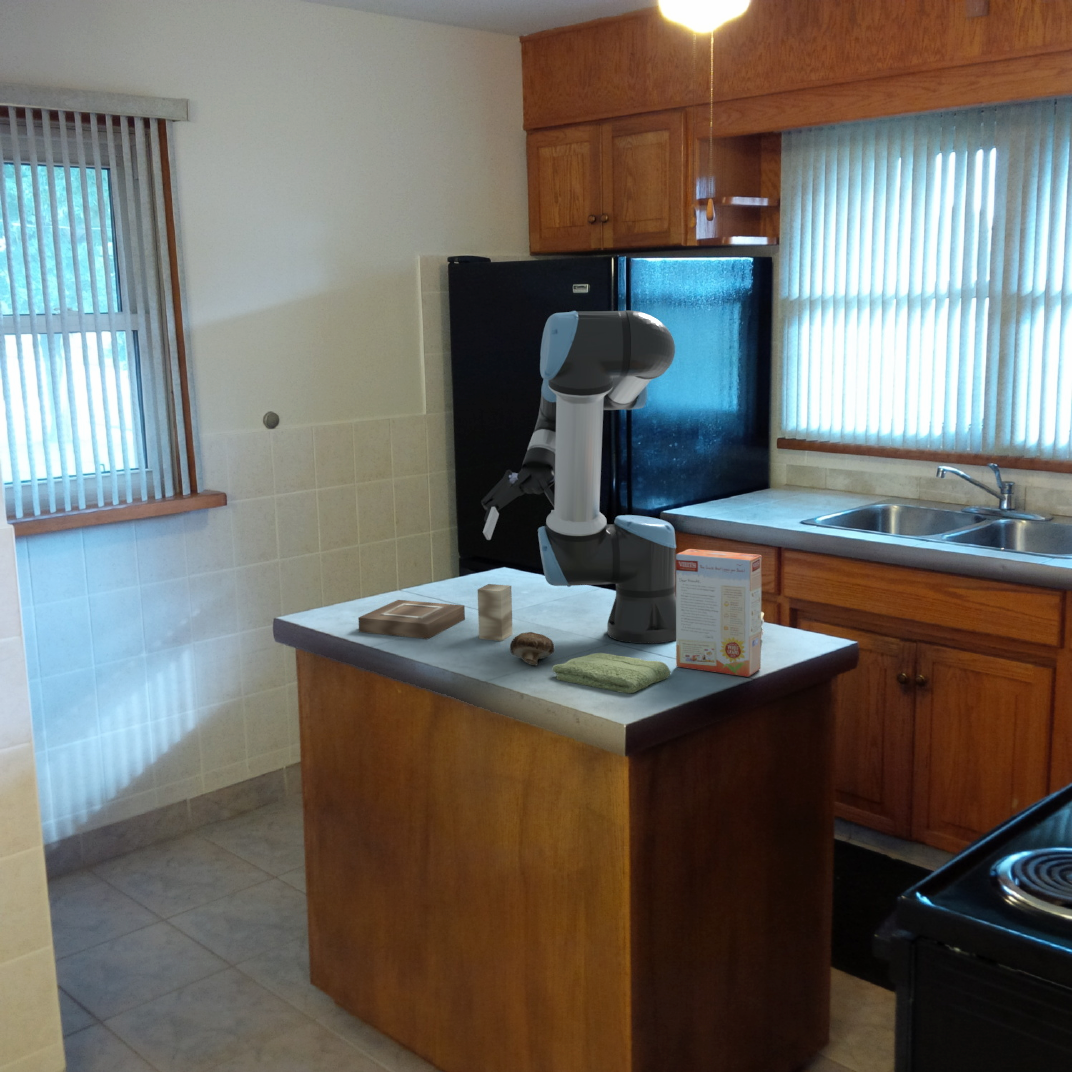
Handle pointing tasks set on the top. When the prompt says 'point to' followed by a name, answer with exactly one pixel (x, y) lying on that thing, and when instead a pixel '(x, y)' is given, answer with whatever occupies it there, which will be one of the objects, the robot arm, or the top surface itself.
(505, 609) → the beech pillar
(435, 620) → the base board
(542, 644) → the mushroom
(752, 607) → the cracker box
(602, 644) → the top surface
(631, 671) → the washcloth
